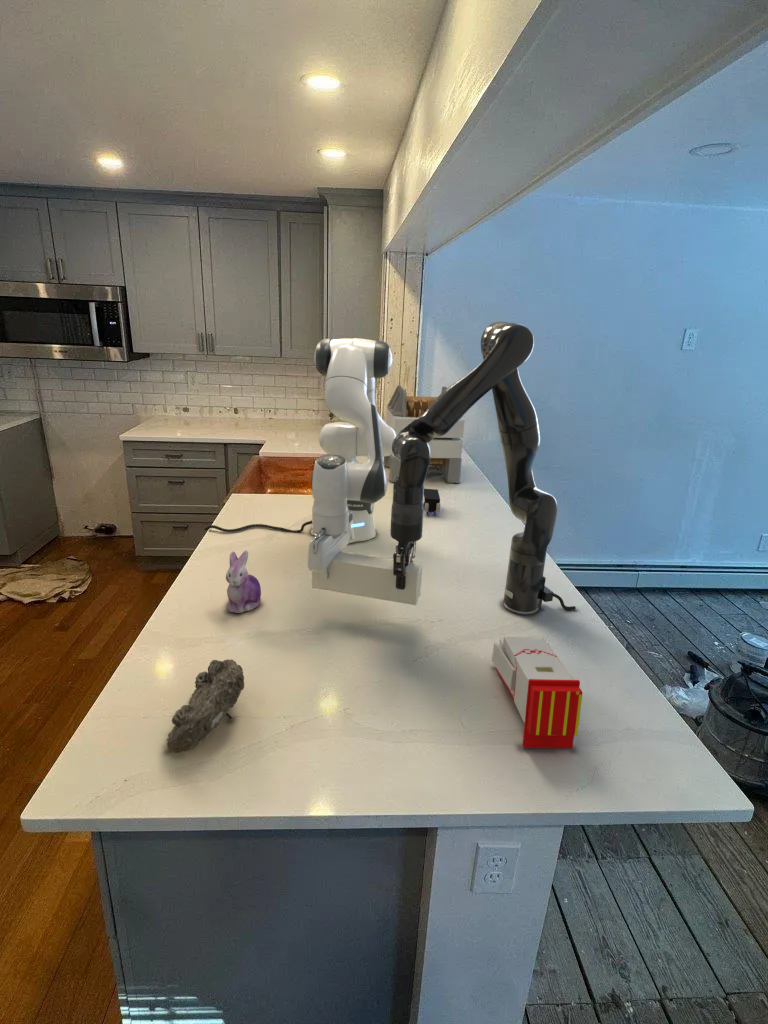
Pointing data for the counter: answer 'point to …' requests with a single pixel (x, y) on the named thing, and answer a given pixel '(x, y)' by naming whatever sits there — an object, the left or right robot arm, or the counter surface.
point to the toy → (539, 691)
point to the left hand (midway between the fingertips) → (329, 573)
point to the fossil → (206, 705)
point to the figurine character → (431, 501)
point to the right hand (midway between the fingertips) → (403, 582)
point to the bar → (370, 578)
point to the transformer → (441, 448)
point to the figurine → (241, 585)
